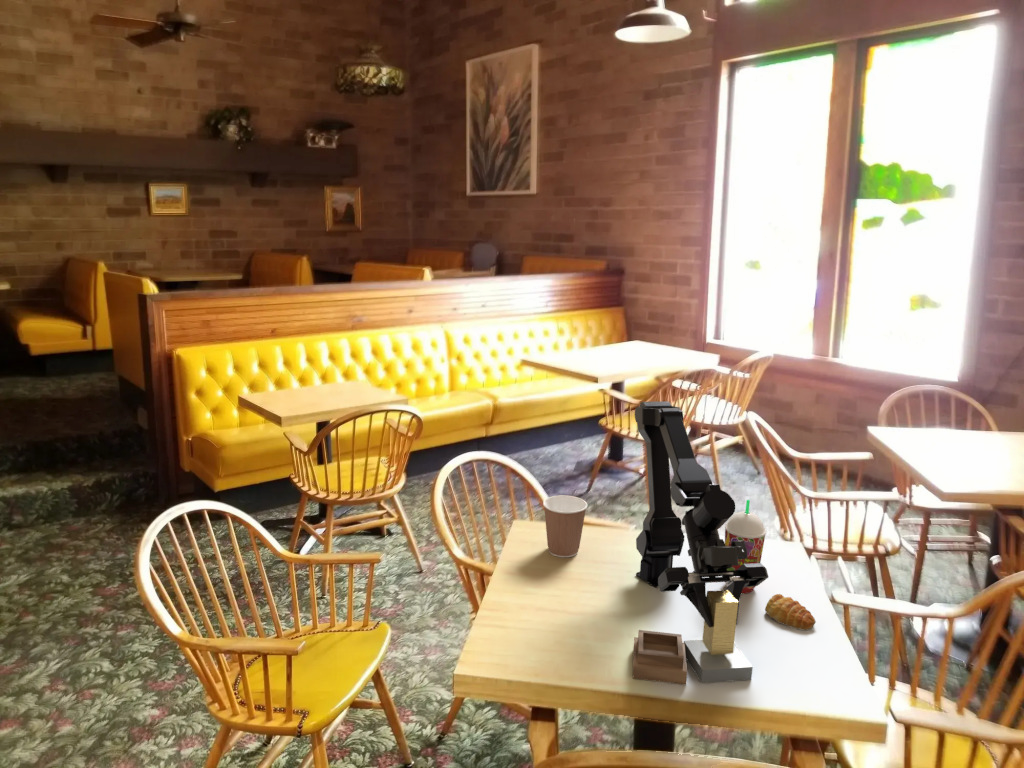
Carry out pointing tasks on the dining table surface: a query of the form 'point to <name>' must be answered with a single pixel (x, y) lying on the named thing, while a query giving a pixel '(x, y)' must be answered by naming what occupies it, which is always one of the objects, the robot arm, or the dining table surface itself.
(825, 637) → the dining table surface
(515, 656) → the dining table surface
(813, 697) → the dining table surface
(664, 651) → the walnut holder
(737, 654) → the slate plinth
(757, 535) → the smoothie
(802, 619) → the pastry
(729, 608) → the brass bar
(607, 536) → the dining table surface
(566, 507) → the coffee cup
